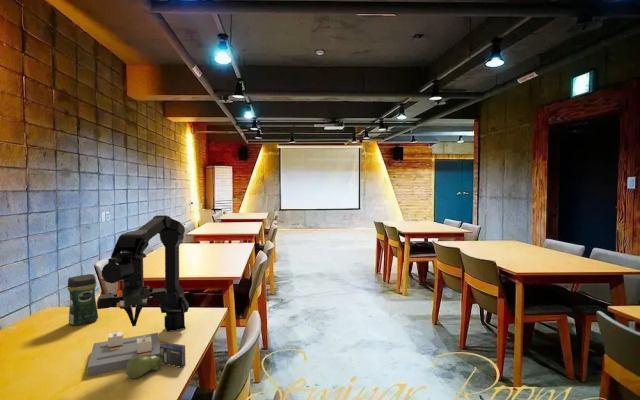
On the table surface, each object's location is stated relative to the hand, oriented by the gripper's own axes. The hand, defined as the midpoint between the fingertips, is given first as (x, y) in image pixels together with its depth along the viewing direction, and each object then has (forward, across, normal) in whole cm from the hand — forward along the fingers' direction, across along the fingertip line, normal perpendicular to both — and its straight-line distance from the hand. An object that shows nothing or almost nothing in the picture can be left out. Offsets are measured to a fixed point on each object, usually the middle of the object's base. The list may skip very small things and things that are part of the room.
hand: (134, 325), depth 113 cm
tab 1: (+8, -5, +9) cm, 13 cm away
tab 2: (+8, +3, 0) cm, 8 cm away
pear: (+11, +3, -10) cm, 15 cm away
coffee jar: (+11, -18, +47) cm, 51 cm away
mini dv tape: (+11, +10, -8) cm, 17 cm away
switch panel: (+11, -2, +5) cm, 12 cm away
